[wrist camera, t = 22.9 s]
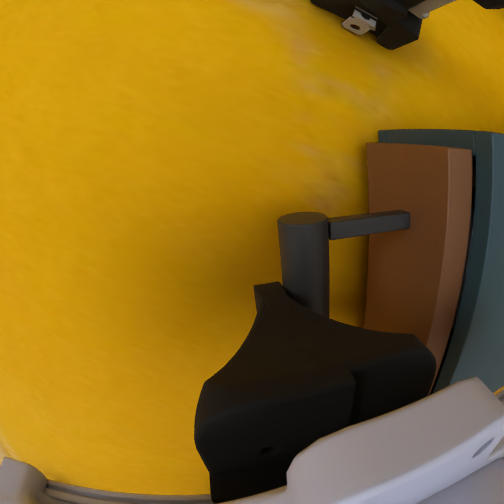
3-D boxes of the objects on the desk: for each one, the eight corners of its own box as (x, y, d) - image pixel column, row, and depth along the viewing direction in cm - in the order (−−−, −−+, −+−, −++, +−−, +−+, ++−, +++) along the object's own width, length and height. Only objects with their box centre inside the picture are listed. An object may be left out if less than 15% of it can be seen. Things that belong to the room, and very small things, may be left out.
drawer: (278, 374, 15) (302, 452, 10) (256, 149, 11) (289, 149, 6) (502, 302, 17) (545, 334, 12) (521, 152, 13) (579, 165, 8)
